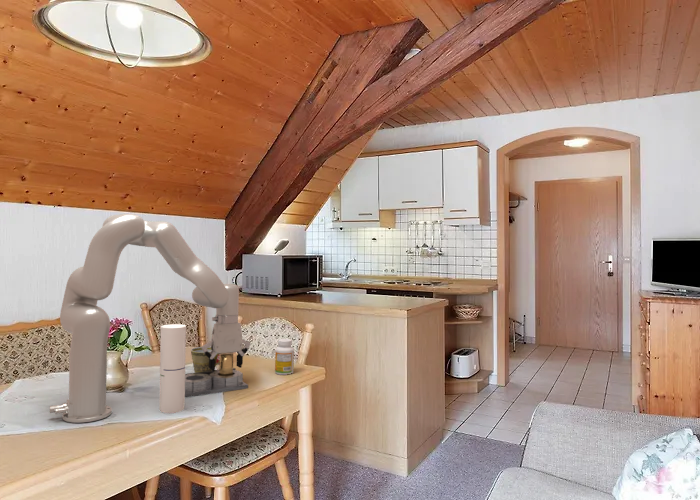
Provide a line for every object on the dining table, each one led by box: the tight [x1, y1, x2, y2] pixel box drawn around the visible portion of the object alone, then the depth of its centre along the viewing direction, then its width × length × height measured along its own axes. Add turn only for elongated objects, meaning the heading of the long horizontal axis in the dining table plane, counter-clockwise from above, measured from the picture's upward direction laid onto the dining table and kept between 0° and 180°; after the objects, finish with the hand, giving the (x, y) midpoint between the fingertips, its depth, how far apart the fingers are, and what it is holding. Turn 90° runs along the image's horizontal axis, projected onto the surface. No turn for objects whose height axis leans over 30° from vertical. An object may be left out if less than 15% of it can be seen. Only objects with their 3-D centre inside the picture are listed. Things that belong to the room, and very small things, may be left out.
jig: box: [185, 367, 249, 398], centre depth 175 cm, size 22×13×4 cm, turn 124°
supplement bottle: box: [274, 338, 295, 376], centre depth 197 cm, size 7×7×13 cm
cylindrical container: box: [158, 323, 187, 414], centre depth 152 cm, size 7×7×25 cm
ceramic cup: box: [190, 346, 220, 373], centre depth 190 cm, size 13×10×10 cm
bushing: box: [218, 353, 234, 376], centre depth 178 cm, size 5×5×10 cm
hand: (225, 368), depth 178 cm, fingers open, 9 cm apart
